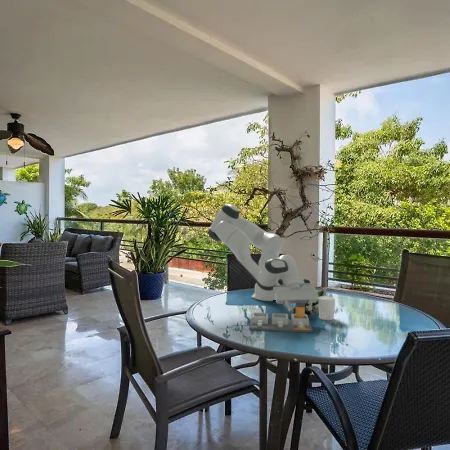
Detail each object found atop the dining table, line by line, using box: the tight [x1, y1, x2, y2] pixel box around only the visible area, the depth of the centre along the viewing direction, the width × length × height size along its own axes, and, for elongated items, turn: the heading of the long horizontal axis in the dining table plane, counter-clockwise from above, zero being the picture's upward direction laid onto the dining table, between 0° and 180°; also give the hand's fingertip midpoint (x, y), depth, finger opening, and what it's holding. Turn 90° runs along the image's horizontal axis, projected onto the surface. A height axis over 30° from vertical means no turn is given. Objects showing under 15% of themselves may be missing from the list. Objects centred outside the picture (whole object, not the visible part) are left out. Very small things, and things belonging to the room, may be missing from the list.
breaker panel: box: [248, 311, 314, 333], centre depth 161 cm, size 14×27×4 cm, turn 84°
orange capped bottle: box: [295, 302, 306, 318], centre depth 163 cm, size 4×4×9 cm
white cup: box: [317, 295, 336, 321], centre depth 174 cm, size 8×8×10 cm
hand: (300, 310), depth 162 cm, fingers open, 8 cm apart
